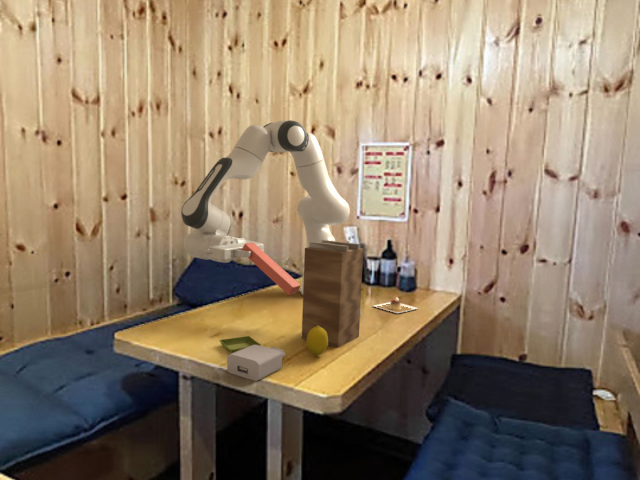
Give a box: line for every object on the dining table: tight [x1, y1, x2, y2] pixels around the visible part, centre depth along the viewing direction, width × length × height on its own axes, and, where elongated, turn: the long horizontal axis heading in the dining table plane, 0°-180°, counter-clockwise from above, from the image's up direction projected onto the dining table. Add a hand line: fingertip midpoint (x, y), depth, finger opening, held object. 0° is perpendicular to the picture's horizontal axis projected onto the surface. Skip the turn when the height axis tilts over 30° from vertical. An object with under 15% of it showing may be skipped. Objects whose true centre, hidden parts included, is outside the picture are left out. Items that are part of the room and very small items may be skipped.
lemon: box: [306, 326, 329, 357], centre depth 127 cm, size 6×6×8 cm
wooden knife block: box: [301, 240, 364, 348], centre depth 141 cm, size 12×12×28 cm
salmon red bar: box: [242, 243, 302, 296], centre depth 153 cm, size 4×22×3 cm
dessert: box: [372, 297, 419, 315], centre depth 179 cm, size 12×12×5 cm
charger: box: [226, 345, 286, 382], centre depth 119 cm, size 5×9×15 cm
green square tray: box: [219, 335, 262, 354], centre depth 131 cm, size 9×9×2 cm
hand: (256, 253), depth 155 cm, fingers closed on salmon red bar, 4 cm apart
